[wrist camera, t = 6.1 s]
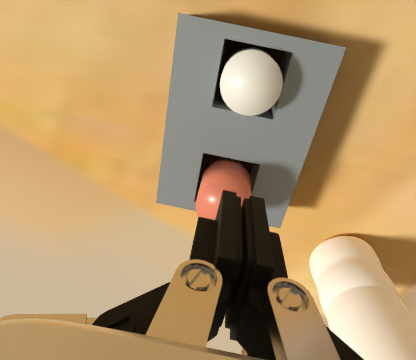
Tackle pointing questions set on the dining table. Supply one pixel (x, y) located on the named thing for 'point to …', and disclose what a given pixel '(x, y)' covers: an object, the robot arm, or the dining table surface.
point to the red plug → (221, 185)
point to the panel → (236, 123)
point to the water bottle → (362, 300)
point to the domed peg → (250, 81)
